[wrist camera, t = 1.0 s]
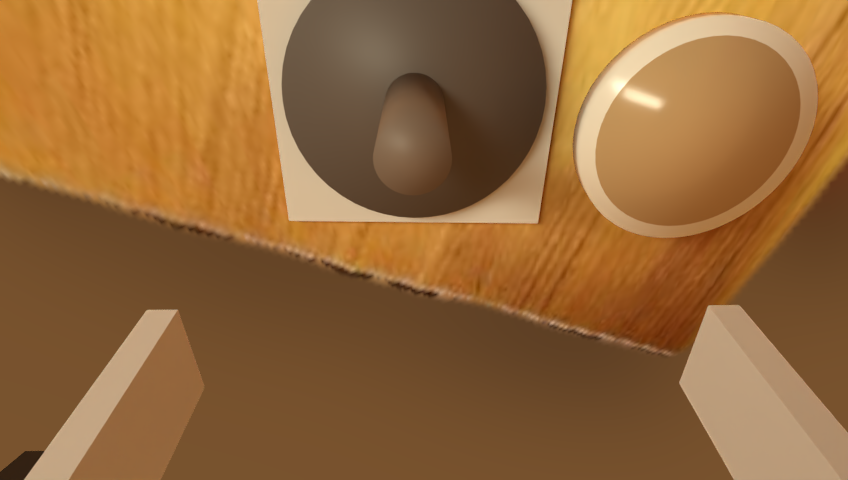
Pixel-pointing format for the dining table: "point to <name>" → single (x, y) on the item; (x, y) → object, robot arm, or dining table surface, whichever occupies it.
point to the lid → (414, 99)
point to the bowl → (694, 124)
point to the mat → (508, 204)
